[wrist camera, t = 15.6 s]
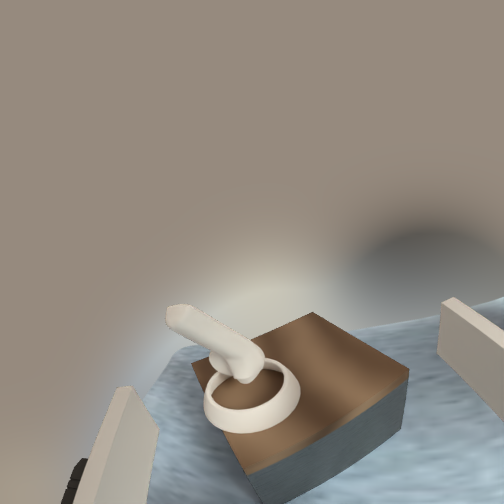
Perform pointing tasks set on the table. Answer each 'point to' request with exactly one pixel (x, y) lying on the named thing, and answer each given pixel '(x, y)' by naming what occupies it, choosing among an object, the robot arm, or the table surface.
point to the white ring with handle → (234, 370)
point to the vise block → (313, 407)
